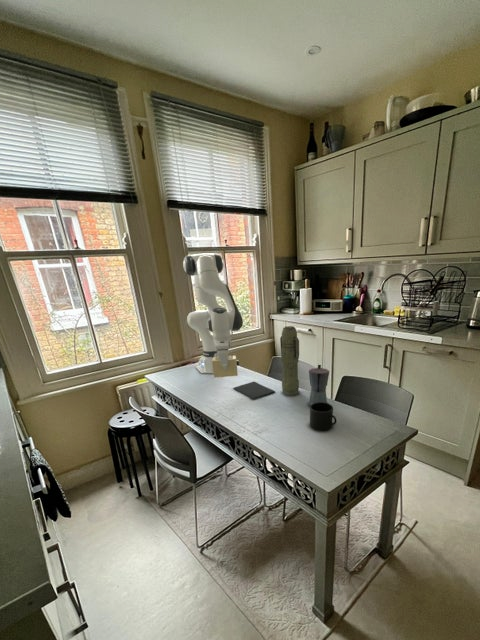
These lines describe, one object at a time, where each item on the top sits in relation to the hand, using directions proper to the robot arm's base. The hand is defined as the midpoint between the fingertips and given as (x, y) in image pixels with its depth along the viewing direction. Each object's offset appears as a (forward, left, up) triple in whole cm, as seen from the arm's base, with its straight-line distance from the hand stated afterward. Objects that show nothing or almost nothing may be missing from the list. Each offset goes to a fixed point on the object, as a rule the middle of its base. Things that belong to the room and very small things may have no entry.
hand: (225, 368), depth 164 cm
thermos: (+20, +27, -16) cm, 37 cm away
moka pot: (+41, +27, -16) cm, 52 cm away
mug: (+58, +13, -16) cm, 61 cm away
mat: (+4, +14, -16) cm, 21 cm away
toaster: (0, 0, -4) cm, 4 cm away
